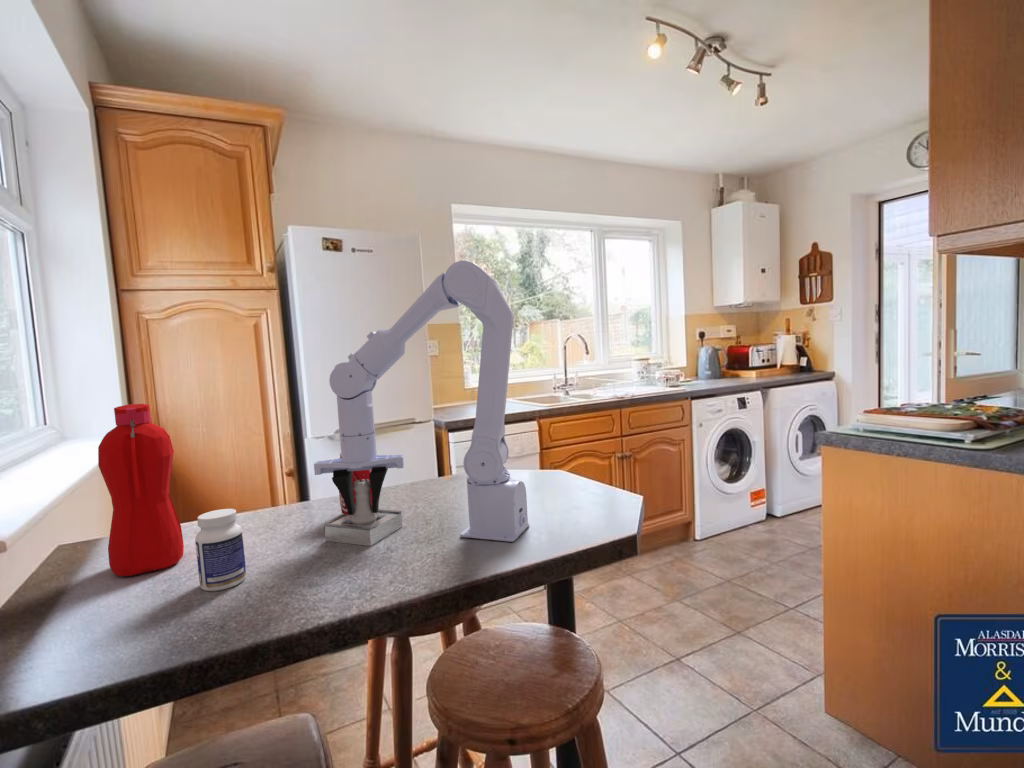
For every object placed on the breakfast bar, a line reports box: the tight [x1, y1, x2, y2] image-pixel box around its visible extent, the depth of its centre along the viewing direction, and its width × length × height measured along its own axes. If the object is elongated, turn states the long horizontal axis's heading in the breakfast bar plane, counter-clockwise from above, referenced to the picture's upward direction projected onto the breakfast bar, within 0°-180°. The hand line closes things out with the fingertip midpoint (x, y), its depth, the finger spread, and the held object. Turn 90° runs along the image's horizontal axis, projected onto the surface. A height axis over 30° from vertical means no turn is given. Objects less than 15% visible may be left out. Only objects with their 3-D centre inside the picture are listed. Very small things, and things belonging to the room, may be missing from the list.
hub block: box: [324, 508, 403, 547], centre depth 89 cm, size 9×9×3 cm
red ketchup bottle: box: [97, 403, 185, 577], centre depth 79 cm, size 9×11×25 cm
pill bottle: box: [194, 508, 247, 592], centre depth 72 cm, size 6×6×10 cm
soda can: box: [338, 452, 372, 516], centre depth 100 cm, size 7×7×12 cm
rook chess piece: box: [351, 479, 377, 526], centre depth 89 cm, size 4×4×8 cm
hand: (363, 512), depth 89 cm, fingers closed on rook chess piece, 3 cm apart
